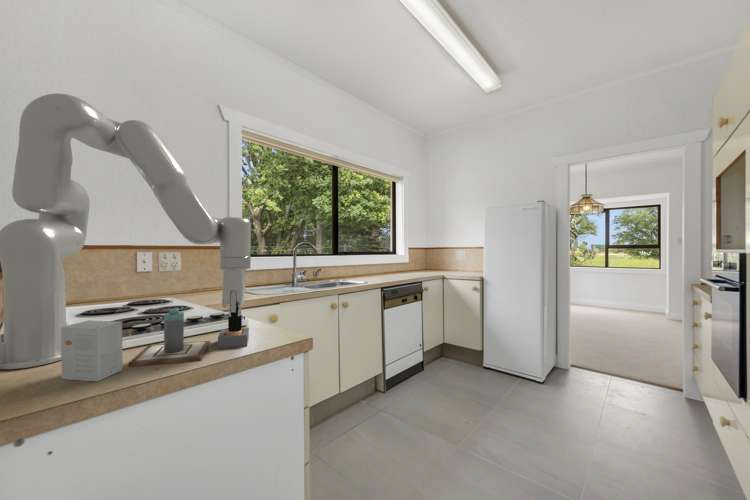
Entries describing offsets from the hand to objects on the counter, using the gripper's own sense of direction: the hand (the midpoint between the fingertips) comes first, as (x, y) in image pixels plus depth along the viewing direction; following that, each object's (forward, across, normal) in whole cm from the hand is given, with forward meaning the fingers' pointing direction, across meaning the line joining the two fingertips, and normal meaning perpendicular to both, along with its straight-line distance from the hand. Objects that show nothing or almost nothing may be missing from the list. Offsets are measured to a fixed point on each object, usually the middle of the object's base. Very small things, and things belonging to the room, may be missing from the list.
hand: (235, 330), depth 85 cm
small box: (+4, +14, -25) cm, 29 cm away
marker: (+3, +5, -13) cm, 14 cm away
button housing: (+4, 0, 0) cm, 4 cm away
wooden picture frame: (+3, +5, -13) cm, 15 cm away
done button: (+2, 0, 0) cm, 2 cm away
